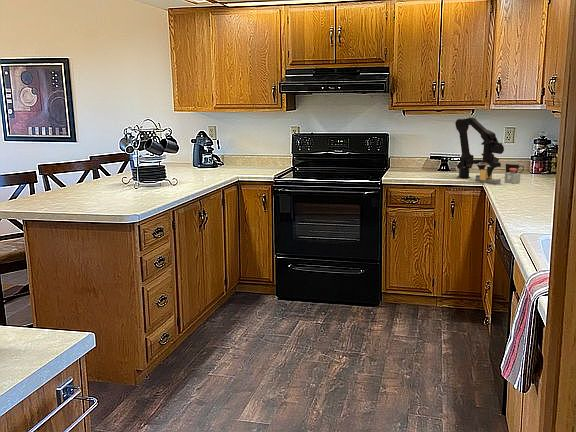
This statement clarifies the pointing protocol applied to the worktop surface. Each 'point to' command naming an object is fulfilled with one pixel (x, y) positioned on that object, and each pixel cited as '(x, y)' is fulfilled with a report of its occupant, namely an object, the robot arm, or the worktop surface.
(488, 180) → the rail
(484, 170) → the carriage
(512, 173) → the plunger
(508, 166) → the coffee mug
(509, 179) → the grey block
